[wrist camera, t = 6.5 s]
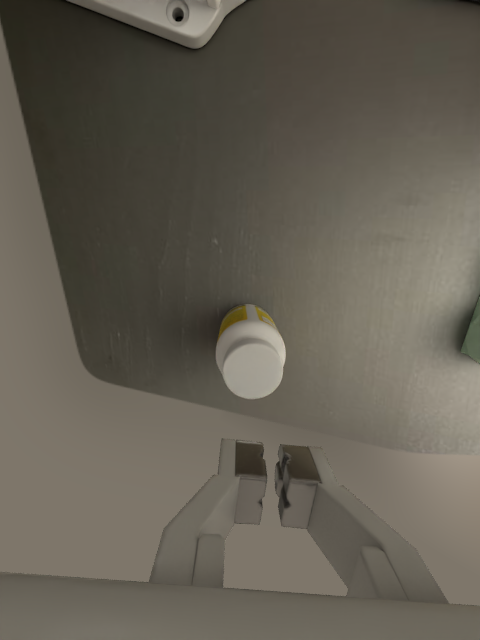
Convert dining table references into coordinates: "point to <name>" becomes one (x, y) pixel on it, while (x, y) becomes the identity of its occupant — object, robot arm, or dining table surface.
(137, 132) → the dining table surface
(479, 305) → the scale
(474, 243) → the dining table surface
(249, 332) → the supplement bottle
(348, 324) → the dining table surface
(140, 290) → the dining table surface
